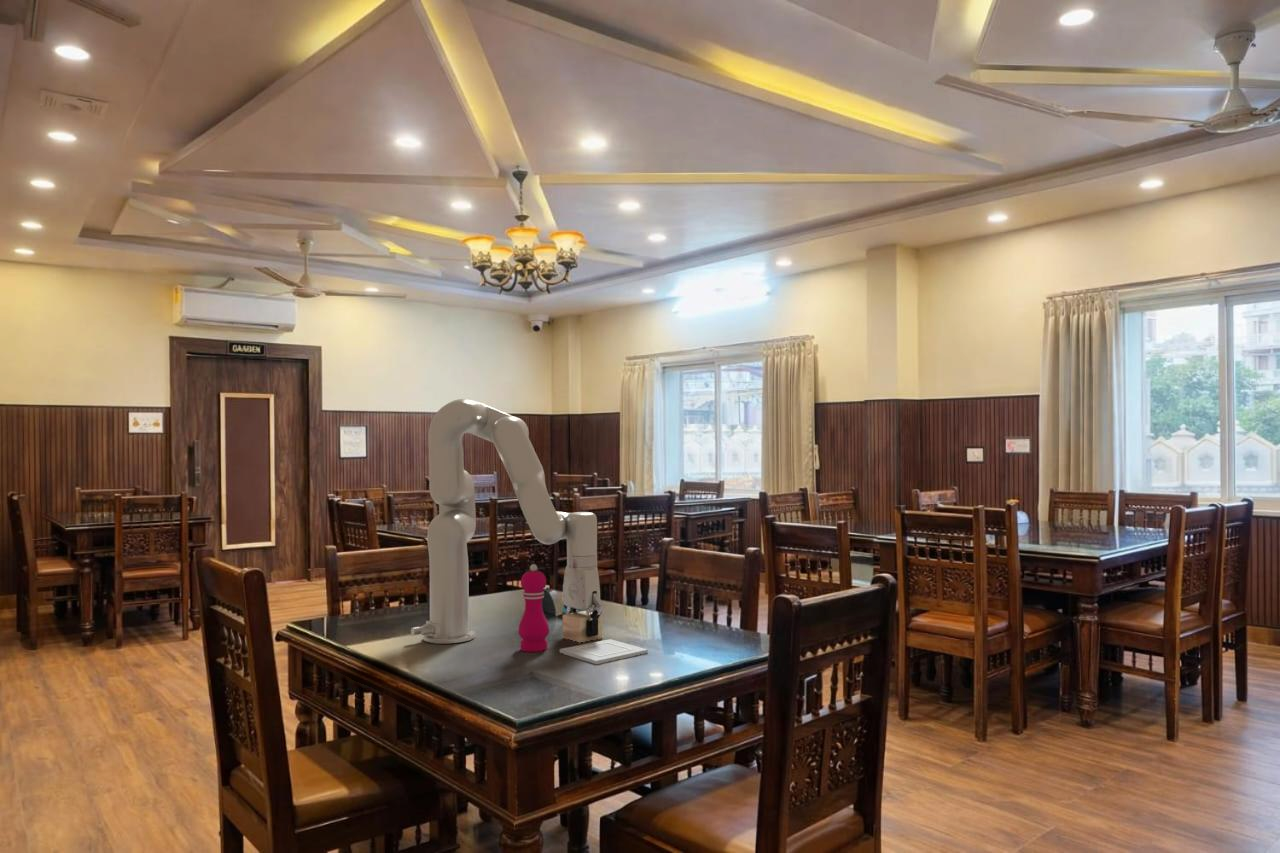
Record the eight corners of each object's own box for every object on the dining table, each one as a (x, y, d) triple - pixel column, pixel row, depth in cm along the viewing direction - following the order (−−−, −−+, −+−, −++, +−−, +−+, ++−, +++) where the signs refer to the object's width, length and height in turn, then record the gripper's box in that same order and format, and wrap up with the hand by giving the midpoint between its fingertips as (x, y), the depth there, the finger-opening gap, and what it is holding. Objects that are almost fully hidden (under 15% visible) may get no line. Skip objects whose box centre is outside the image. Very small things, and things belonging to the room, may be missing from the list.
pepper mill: (550, 645, 204) (549, 561, 204) (548, 652, 197) (547, 566, 197) (520, 645, 204) (519, 562, 204) (516, 652, 196) (516, 566, 197)
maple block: (579, 643, 206) (579, 618, 206) (562, 638, 211) (562, 614, 211) (602, 639, 210) (602, 614, 210) (585, 634, 215) (585, 610, 216)
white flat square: (596, 664, 186) (596, 660, 186) (559, 652, 196) (559, 648, 196) (647, 653, 195) (647, 649, 195) (610, 642, 206) (610, 638, 206)
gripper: (549, 559, 215) (550, 629, 215) (591, 567, 202) (591, 641, 202) (573, 557, 220) (574, 625, 220) (615, 564, 207) (616, 636, 206)
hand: (582, 632), depth 211 cm, fingers open, 7 cm apart
